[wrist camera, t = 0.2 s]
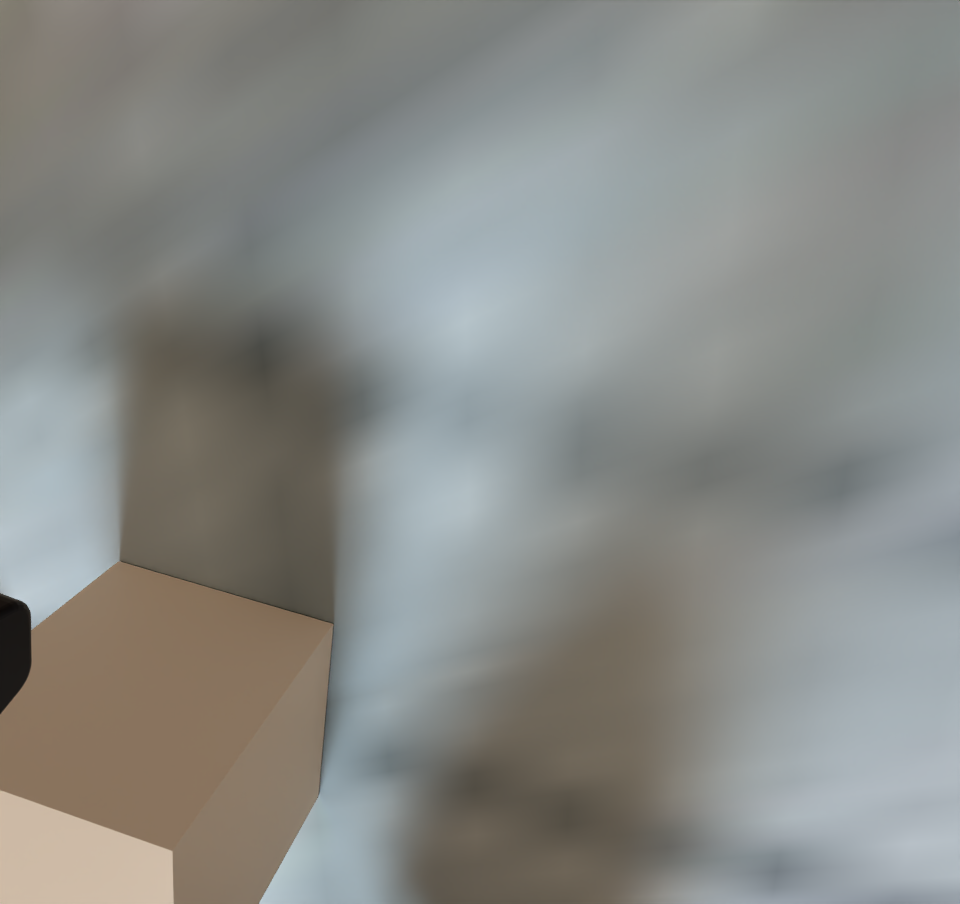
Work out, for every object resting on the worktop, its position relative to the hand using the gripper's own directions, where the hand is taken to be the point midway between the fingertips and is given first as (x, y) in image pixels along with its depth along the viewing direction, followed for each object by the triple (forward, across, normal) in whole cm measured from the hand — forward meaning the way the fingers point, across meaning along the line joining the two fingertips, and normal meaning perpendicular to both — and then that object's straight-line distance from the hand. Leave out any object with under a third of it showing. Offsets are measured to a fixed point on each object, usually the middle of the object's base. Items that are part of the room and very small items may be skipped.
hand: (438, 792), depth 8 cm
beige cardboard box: (+14, +9, +15) cm, 23 cm away
